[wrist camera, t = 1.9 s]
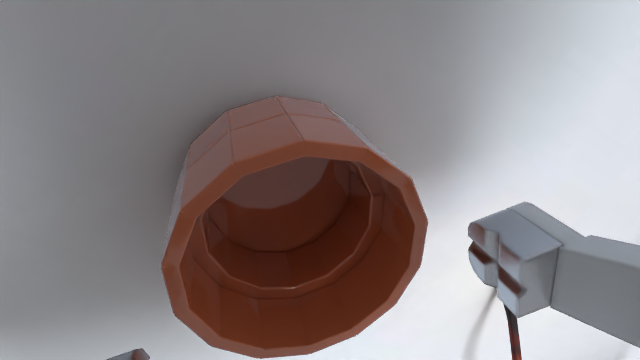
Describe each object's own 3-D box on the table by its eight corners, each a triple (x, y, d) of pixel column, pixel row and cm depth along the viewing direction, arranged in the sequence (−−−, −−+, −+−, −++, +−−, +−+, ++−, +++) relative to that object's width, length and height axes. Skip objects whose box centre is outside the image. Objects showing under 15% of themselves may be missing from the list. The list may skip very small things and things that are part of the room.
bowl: (140, 131, 11) (101, 205, 7) (350, 67, 12) (418, 102, 8) (220, 283, 14) (223, 389, 10) (378, 226, 15) (435, 304, 11)
